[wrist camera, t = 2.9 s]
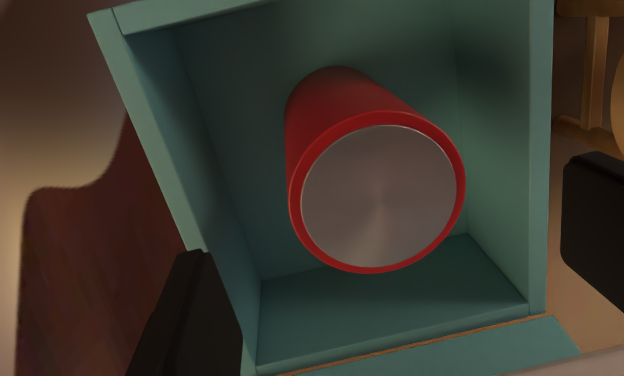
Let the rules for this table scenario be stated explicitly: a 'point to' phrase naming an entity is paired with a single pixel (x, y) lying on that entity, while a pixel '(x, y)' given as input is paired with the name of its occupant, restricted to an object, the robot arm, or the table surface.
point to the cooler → (272, 163)
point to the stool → (596, 80)
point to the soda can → (367, 174)
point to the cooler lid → (469, 353)
